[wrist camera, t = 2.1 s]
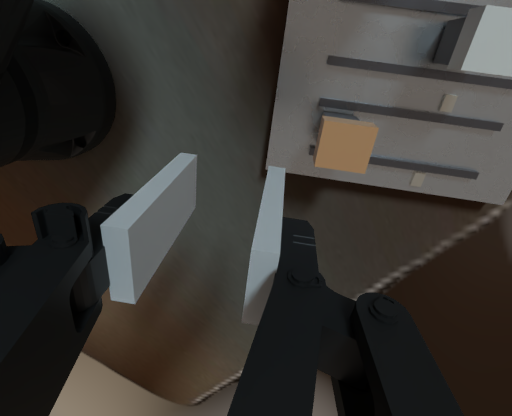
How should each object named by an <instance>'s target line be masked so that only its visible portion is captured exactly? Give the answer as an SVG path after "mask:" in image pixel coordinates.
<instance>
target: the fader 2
mask: <svg viewBox="0 0 512 416" xmlns="http://www.w3.org/2000/svg"><path fill="white" fill-rule="evenodd" d="M433 63H436V64H444V65H448V67H447V69H454V70H462V71H469V72H477V73H484V74H492V75H499V76H507V77H512V8H508V7H500V6H492V5H484V6H480V7H476V8H471V9H469V12H468V14H467V17H464V18H459V19H454V20H449V21H448V22H447V24H446V27H445V30H444V33H443V36H442V38H441V41H440V44H439V47H438V50H437V53H436V55H435V58H434V61H433Z"/></svg>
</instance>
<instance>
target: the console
mask: <svg viewBox="0 0 512 416" xmlns="http://www.w3.org/2000/svg"><path fill="white" fill-rule="evenodd" d="M484 5H492V6H500V7H508V8H512V0H289V5H288V13H287V20H286V27H285V34H284V41H283V48H282V55H281V62H280V69H279V77H278V84H277V91H276V98H275V105H274V112H273V119H272V126H271V133H270V141H269V148H268V155H267V162H266V170H268V168H269V166H274V167H281V168H285V172H286V173H293V174H299V175H306V176H313V177H319V178H326V179H333V180H339V181H346V182H353V183H359V184H366V185H373V186H379V187H386V188H393V189H399V190H406V191H413V192H419V193H426V194H433V195H439V196H446V197H453V198H459V199H466V200H473V201H479V202H486V203H492V204H499V205H503V204H504V202H505V201H506V199H507V197H508V195H509V194H510V192H511V190H512V77H507V76H499V75H492V74H484V73H477V72H469V71H462V70H454V69H447V67H448V65H444V64H436V63H433V61H434V58H435V55H436V53H437V50H438V47H439V44H440V41H441V38H442V36H443V33H444V30H445V27H446V24H447V22H448V21H449V20H454V19H459V18H464V17H467V14H468V12H469V9H471V8H476V7H480V6H484ZM323 111H324V112H331V113H338V114H345V115H352V116H356V117H357V118H358V119H359V120H360V121H365V122H372V123H374V124H375V125H376V126H377V127H378V128H379V130H378V133H377V136H376V140H375V143H374V146H373V149H372V153H371V156H370V159H369V162H368V166H367V169H366V172H365V174H362V173H355V172H348V171H341V170H335V169H328V168H321V167H315V166H314V162H313V155H314V151H315V146H316V142H317V137H318V132H319V128H320V123H321V118H322V114H323Z"/></svg>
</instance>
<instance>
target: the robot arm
mask: <svg viewBox="0 0 512 416" xmlns="http://www.w3.org/2000/svg"><path fill="white" fill-rule="evenodd" d="M114 114H115V89H114V84H113V80H112V76H111V73H110V70H109V67H108V65H107V62H106V60H105V58H104V56H103V54H102V52H101V51H100V49H99V47H98V46H97V44H96V43H95V41H94V40H93V39H92V37H91V36H90V35H89V34H88V32H87V31H86V30H85V29H84V28H83V27H82V26H81V25H80V24H79V23H78V22H77V21H76V20H75V19H73V18H72V17H71V16H70V15H68V14H67V13H66V12H64V11H63V10H61V9H60V8H58V7H56V6H54V5H52V4H50V3H48V2H46V1H43V0H0V167H2V166H4V165H7V164H9V163H12V162H14V161H27V160H62V159H68V158H72V157H75V156H77V155H80V154H82V153H84V152H86V151H88V150H90V149H92V148H94V147H95V146H96V145H98V144H99V143H100V142H101V141H102V140H103V139H104V138H105V136H106V135H107V133H108V131H109V130H110V127H111V125H112V122H113V119H114ZM196 172H197V155H194V154H187V153H180V154H179V155H178V156H176V157H175V158H174V159H173V160H172V161H171V162H170V163H169V164H168V165H166V166H165V167H164V168H163V169H162V170H161V171H160V172H159V173H158V174H156V175H155V176H154V177H153V178H152V179H151V180H150V181H149V182H148V183H146V184H145V185H144V186H143V187H142V188H141V189H140V190H139V191H138V192H136V193H135V194H134V195H132V194H126V193H125V194H123V195H120V196H118V197H115V198H113V199H112V200H110V201H109V202H108V203H107V204H105V205H104V207H102V208H100V209H99V210H98V212H96V213H94V214H93V215H92V216H91V217H89V218H88V214H87V210H86V208H85V207H83V206H81V205H79V204H74V203H57V204H51V205H47V206H44V207H41V208H38V209H36V210H35V211H33V212H31V215H32V219H33V222H34V226H35V230H36V234H37V237H38V240H37V241H36V242H35V243H34V244H33V245H29V246H6V244H5V241H4V238H3V236H2V234H0V416H49V414H50V412H51V410H52V408H53V406H54V404H55V402H56V400H57V398H58V396H59V394H60V392H61V390H62V388H63V386H64V384H65V382H66V380H67V378H68V376H69V374H70V372H71V370H72V368H73V366H74V364H75V362H76V360H77V358H78V356H79V354H80V352H81V350H82V348H83V346H84V344H85V342H86V340H87V338H88V336H89V334H90V332H91V330H92V328H93V327H94V325H95V323H96V321H97V319H98V317H99V315H100V313H101V310H102V306H103V304H102V298H101V296H102V295H103V293H104V292H105V291H106V290H107V288H108V287H109V289H110V295H111V300H113V301H119V302H125V303H131V304H135V303H136V302H137V300H138V299H139V297H140V295H141V294H142V292H143V291H144V289H145V287H146V286H147V284H148V283H149V281H150V279H151V278H152V276H153V275H154V273H155V271H156V270H157V268H158V267H159V265H160V263H161V262H162V260H163V259H164V257H165V255H166V254H167V252H168V251H169V249H170V247H171V246H172V244H173V243H174V241H175V239H176V238H177V236H178V235H179V233H180V231H181V230H182V228H183V227H184V225H185V223H186V222H187V220H188V219H189V217H190V215H191V214H192V212H193V211H194V209H195V207H196ZM284 184H285V168H281V167H274V166H269V168H268V173H267V177H266V182H265V187H264V192H263V197H262V201H261V206H260V211H259V216H258V220H257V225H256V230H255V235H254V240H253V244H252V249H251V256H250V264H249V271H248V278H247V286H246V293H245V301H244V308H243V315H242V323H247V324H253V325H259V326H258V328H257V331H256V334H255V337H254V340H253V343H252V346H251V349H250V351H249V354H248V357H247V360H246V363H245V366H244V369H243V371H242V374H241V377H240V380H239V383H238V386H237V389H236V392H235V394H234V397H233V401H232V404H231V406H230V409H229V412H228V415H227V416H312V409H313V402H314V392H315V383H316V374H317V369H318V370H320V371H322V372H324V373H326V374H328V375H330V376H331V380H332V385H333V390H334V395H335V401H336V407H337V412H338V416H464V415H463V413H462V411H461V409H460V407H459V405H458V403H457V402H456V400H455V398H454V396H453V394H452V392H451V390H450V388H449V387H448V385H447V383H446V381H445V379H444V377H443V375H442V374H441V371H440V369H439V368H438V366H437V364H436V362H435V360H434V358H433V356H432V354H431V353H430V351H429V349H428V347H427V345H426V343H425V341H424V339H423V337H422V336H421V334H420V332H419V330H418V328H417V326H416V324H415V323H414V321H413V319H412V317H411V315H410V314H409V312H408V311H407V310H406V308H405V307H404V306H402V305H401V304H399V302H397V301H396V300H394V299H392V298H390V297H388V296H386V295H383V294H379V293H365V294H362V295H360V296H359V297H358V299H357V301H354V300H352V299H349V298H347V297H344V296H342V295H340V294H338V293H336V292H334V291H333V290H331V289H330V288H328V287H327V286H326V282H325V279H324V278H323V276H322V275H321V274H320V273H319V271H318V263H317V254H316V246H315V239H314V238H315V237H314V229H313V228H312V226H311V225H310V224H309V223H308V221H305V220H298V219H292V218H285V217H282V216H283V200H284Z"/></svg>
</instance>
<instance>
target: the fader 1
mask: <svg viewBox="0 0 512 416" xmlns="http://www.w3.org/2000/svg"><path fill="white" fill-rule="evenodd" d="M378 130H379V128H378V127H377V126H376V125H375V124H374V123H372V122H365V121H360V120H359V119H358V118H357V117H356V116H352V115H345V114H338V113H331V112H324V111H323V114H322V118H321V123H320V128H319V132H318V137H317V142H316V146H315V151H314V155H313V162H314V166H315V167H321V168H328V169H335V170H341V171H348V172H355V173H362V174H365V172H366V169H367V166H368V162H369V159H370V156H371V153H372V149H373V146H374V143H375V140H376V136H377V133H378Z"/></svg>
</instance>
